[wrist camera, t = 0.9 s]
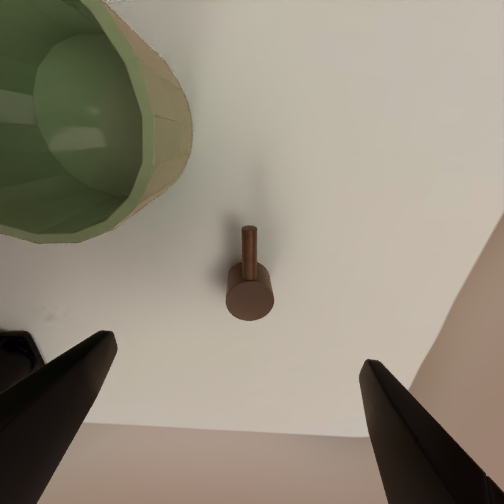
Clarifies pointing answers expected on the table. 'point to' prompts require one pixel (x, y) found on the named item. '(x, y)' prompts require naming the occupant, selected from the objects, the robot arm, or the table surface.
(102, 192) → the green round container
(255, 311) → the scoop
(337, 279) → the table surface
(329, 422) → the table surface
